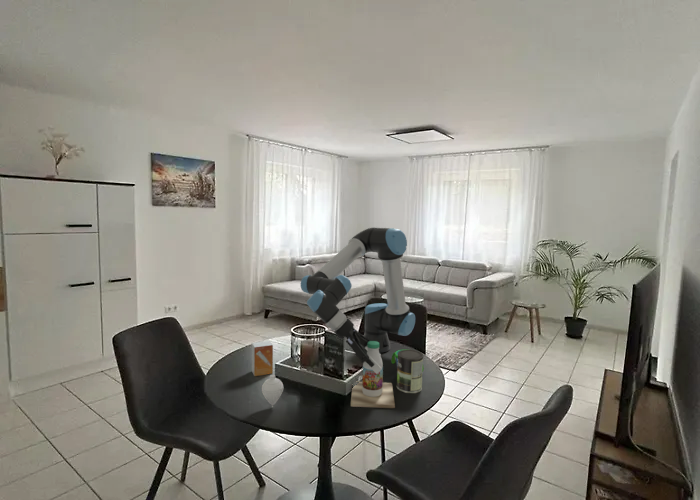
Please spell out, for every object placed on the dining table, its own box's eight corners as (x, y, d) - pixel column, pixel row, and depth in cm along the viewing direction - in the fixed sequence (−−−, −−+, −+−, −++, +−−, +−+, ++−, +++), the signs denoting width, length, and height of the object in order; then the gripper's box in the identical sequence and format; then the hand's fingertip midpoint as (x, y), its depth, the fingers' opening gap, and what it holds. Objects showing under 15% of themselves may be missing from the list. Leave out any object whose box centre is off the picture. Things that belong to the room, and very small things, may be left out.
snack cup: (385, 373, 169) (385, 350, 168) (401, 367, 176) (402, 345, 175) (412, 385, 157) (412, 361, 156) (428, 379, 164) (429, 356, 163)
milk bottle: (360, 389, 151) (361, 339, 149) (379, 387, 152) (380, 338, 150) (364, 398, 143) (365, 346, 141) (384, 396, 145) (386, 345, 143)
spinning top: (278, 400, 143) (278, 369, 142) (286, 409, 137) (286, 377, 136) (258, 405, 139) (258, 373, 138) (266, 415, 133) (266, 381, 132)
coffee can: (397, 393, 151) (398, 358, 149) (395, 381, 161) (396, 348, 160) (423, 394, 150) (425, 359, 149) (420, 382, 160) (421, 349, 159)
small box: (254, 376, 163) (254, 347, 162) (251, 371, 169) (251, 342, 167) (273, 373, 166) (273, 344, 165) (269, 368, 172) (269, 340, 171)
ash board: (352, 384, 158) (352, 381, 158) (391, 385, 157) (391, 382, 157) (350, 406, 140) (350, 403, 140) (394, 408, 139) (394, 405, 139)
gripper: (336, 321, 159) (371, 357, 160) (330, 342, 134) (372, 385, 135) (349, 309, 158) (384, 346, 159) (345, 327, 133) (387, 371, 134)
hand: (378, 364), depth 147 cm, fingers open, 13 cm apart
